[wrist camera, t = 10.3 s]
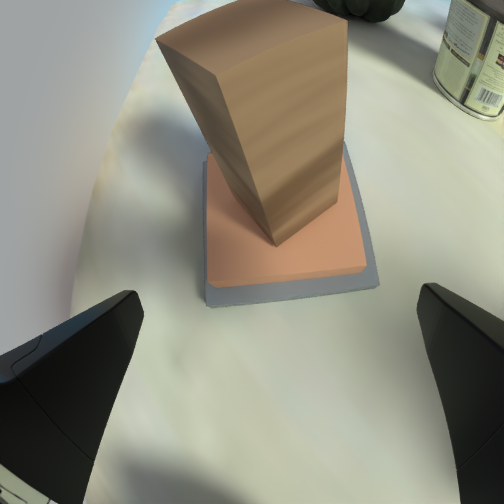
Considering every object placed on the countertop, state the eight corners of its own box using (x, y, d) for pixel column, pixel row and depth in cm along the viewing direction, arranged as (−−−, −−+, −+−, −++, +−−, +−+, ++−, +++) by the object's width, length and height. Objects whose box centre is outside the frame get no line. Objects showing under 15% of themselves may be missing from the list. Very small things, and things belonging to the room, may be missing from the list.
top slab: (361, 272, 19) (366, 265, 17) (216, 287, 20) (207, 282, 18) (335, 151, 22) (337, 136, 20) (214, 167, 23) (207, 153, 22)
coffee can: (467, 64, 25) (491, -13, 11) (513, 118, 21) (556, 41, 8) (415, 65, 25) (433, -30, 12) (466, 125, 22) (512, 24, 9)
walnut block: (337, 202, 18) (347, 20, 7) (276, 247, 18) (215, 75, 7) (289, 156, 20) (258, -7, 9) (232, 195, 20) (154, 38, 8)
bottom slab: (373, 289, 20) (379, 284, 18) (214, 309, 22) (206, 305, 20) (342, 155, 24) (344, 141, 22) (210, 174, 26) (203, 161, 24)
